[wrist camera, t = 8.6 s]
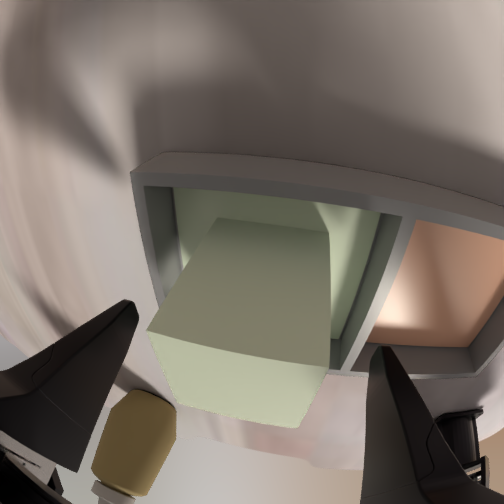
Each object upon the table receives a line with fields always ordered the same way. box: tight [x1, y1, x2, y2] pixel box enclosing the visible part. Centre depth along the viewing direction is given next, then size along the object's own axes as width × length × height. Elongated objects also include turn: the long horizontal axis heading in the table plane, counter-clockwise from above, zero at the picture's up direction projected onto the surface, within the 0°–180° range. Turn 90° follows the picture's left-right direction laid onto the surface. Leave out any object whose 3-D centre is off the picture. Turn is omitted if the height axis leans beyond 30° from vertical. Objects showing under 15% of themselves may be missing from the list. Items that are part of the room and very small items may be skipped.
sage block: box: [146, 218, 331, 428], centre depth 10 cm, size 4×4×6 cm
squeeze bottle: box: [91, 389, 176, 504], centre depth 21 cm, size 8×8×18 cm
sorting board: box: [130, 152, 504, 379], centre depth 11 cm, size 18×10×2 cm, turn 89°
